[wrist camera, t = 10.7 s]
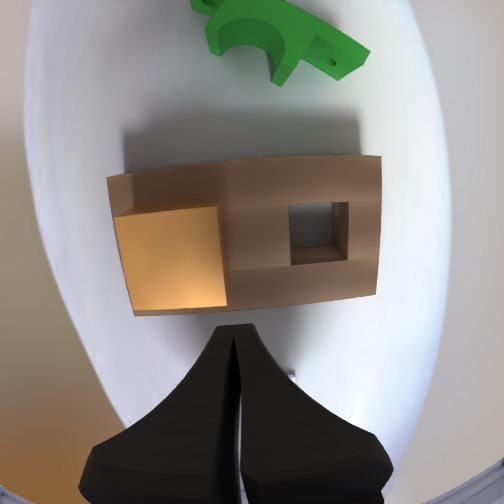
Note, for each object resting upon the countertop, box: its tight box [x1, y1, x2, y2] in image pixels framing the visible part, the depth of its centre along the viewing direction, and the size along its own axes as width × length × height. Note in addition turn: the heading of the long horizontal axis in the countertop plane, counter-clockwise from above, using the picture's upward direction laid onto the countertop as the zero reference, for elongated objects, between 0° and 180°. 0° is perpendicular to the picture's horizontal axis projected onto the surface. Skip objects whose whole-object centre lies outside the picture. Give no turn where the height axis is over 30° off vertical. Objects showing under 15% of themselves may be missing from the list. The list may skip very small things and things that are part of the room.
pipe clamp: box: [190, 0, 371, 87], centre depth 14 cm, size 11×4×5 cm, turn 61°
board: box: [107, 155, 382, 316], centre depth 18 cm, size 9×16×3 cm, turn 94°
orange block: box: [114, 197, 228, 310], centre depth 17 cm, size 5×5×6 cm
